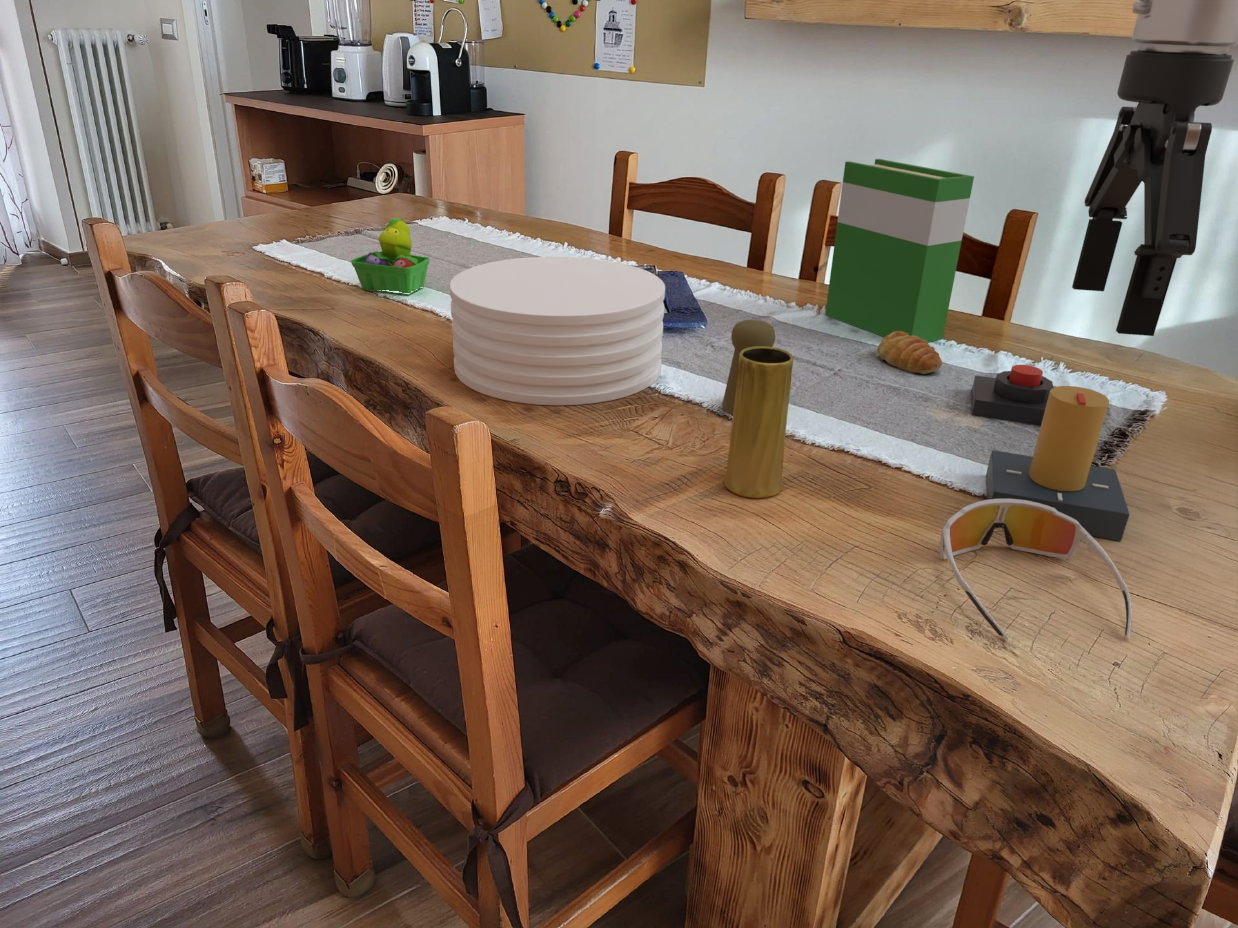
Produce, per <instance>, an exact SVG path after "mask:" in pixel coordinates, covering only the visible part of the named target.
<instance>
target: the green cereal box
mask: <svg viewBox="0 0 1238 928" xmlns="http://www.w3.org/2000/svg"><path fill="white" fill-rule="evenodd" d="M974 179H975V176H974V175H969V174H963V173H958V172H952V171H947V170H942V169H936V168H931V167H926V166H922V165H921V166H920V165H915V164H910V163H904V162H898V161H893V160H889V159H888V160H887V159H883V158H874V164H865V163H860V162H856V161H849V160H847V161H845V162H844V169H843V177H842V183H841V185H842V186H841V191H840V201H839V207H838V214H837V222H836V230H835V238H834V244H833V245H834V246H833V252H832V258H831V259H832V260H831V267H830V273H829V274H830V275H829V281H828V282H829V283H828V289H827V290H828V291H827V297H826V305H825V312H824V315H825V316H827V317H829V318H831V319H834V320H838V321H840V322H842V323H846V324H848V325H850V326H854V327H855V328H859V329H861V330H864V331H866V332H869V333H872V334H875V335H877V336H880V337H883V338H885V337H886V336H887V335H890V334H891V333H892V332H895V331H902V332H905V333H907V334H908V335H909V336H918V337H919V338H920V339H922V340H926V341H927V343H928V344H929V343H931V342H935V341H941V340H943V338H944V334H945V330H946V324H947V320H948V319H947V318H948V313H949V309H950V303H951V297H952V293H953V287H954V283H955V278H956V272H957V267H958V262H959V257H960V251H961V246H962V243H963V237H964V236H963V235H964V230H965V226H966V221H967V215H968V210H969V206H970V205H969V204H970V199H971V195H972V189H973V185H974Z"/></svg>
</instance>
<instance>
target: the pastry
mask: <svg viewBox="0 0 1238 928" xmlns="http://www.w3.org/2000/svg"><path fill="white" fill-rule="evenodd" d="M877 353H878V355H879V357H880V359H881V360H882V361H883V360H884V361H886V363H887V364H888V365H891V366H893V367H896V368H898V369H899V370H903V371H904V372H908V373H913V374H915V373H918V374H921V375H926V374H930V373H935V372H938V371H939V370H940V368H942V367H941V366H942V365H943V360H942V359H941V357H940V353H939V352H938V351H936V350H935V347H934V346H931V345H930V344H929V342H928V343H927V341H926V340H922V339H920V338H919V337H918V336H909V335H908V334H907V333H905V332H902V331H895V332H892V333H891V334H890V335H887V336H886V337H883V339H881V341H880V343H879V344H878V346H877Z"/></svg>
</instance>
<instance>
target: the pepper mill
mask: <svg viewBox="0 0 1238 928" xmlns="http://www.w3.org/2000/svg"><path fill="white" fill-rule="evenodd" d="M730 337H731V338H730V339H731V344H732V346H733V347H734V350H733V355H732V360H731V364H730V368H729V372H728V377H727V380H726V385H725V391H724V396H723V398H722V404H721V408H722V410H723V411H724V412H725V413H727V414H729V415H732V416H733V411H734V403H735V394H736V384H737V375H738V365H739V356H740V352H741V351H742V350H743V349H745V348H749V347H756V346H768V347H774V344H775V342H776V331H775V328H774V326H772V324H771V323H768V322H767V321H764V320H760V319H743V320H740V321H738V322H737V323H735V325H734V326H733V327H732V330H731V336H730Z"/></svg>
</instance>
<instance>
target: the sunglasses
mask: <svg viewBox="0 0 1238 928" xmlns="http://www.w3.org/2000/svg"><path fill="white" fill-rule="evenodd" d="M995 529H1001V531H1002V534H1003V536H1004V538H1005V542H1006V545H1007V546H1008V547H1009V548H1010V549H1011V550H1016V551H1021V552H1026V553H1031V554H1036V555H1042V556H1045V557H1052V558H1057V559H1061V560H1071V559H1072V557H1073V556H1074V554H1075V552H1076V551H1077V549H1078V546H1079V544H1080V542H1082V543H1083V544H1084V545H1085V547H1086V548H1087V549H1088V551H1089V552H1090V553H1093V554H1094V555H1096V556H1097V557H1098V558H1100V559H1101V560H1102V561H1103V562H1104V563H1105V564H1106V565H1107V567H1108V569H1109V570H1110V573H1111V574H1112V575H1113V578H1114V579H1115V582H1116V584H1117V586H1118V588H1119V590H1120V591H1121V594H1122V596H1123V599H1124V604H1125V617H1126V618H1125V620H1126V621H1125V629H1124V639H1125V640H1130V638H1131V633H1132V632H1131V630H1132V623H1133V622H1132V619H1133V618H1132V616H1133V615H1132V611H1133V610H1132V601H1131V596H1130V592H1129V591H1130V590H1129V588H1128V586H1127V584H1126V582H1125V580H1124V578H1123V577H1122V575H1121V572H1120V571H1119V569H1118V568H1117V566H1116V565H1115V564H1114V562H1113V561H1112V559H1111V557H1110V556H1109V555H1108V553H1107V552H1106V550H1105V549H1104V548H1103V547H1102V546H1101V544H1100V543H1099V542H1098V541H1097V540H1096V539H1095V537H1094V536H1091V535H1090V534H1089V533H1088V532H1087V531H1086V530H1085V529H1084V528H1083V527H1082V526H1081V525H1080V524H1079V522H1078V521H1077V520H1075V519H1073V518H1071V517H1069V516H1067V515H1065V514H1063V513H1061V512H1058V511H1057V510H1056V509H1055V508H1053V507H1050V506H1047V505H1044V504H1040V503H1036V502H1032V501H1027V500H1019V499H990V500H987V499H984V500H979V501H976V502H974V503H970V504H968V505H966V506H964V507H962V508H961V509H960V510H958V511H957V512H956V513H954V514H953V515H952V516H951V517H950V518H949V519H948V520H947V521H946V523H945V524H944V526H943V527H942V530H941V533H940V540H939V555H940V558H941V559H942V560H948V563H949V565H950V567H951V570H952V572H953V574H954V576H955V579H956V582H957V583H958V585H959V586H960V588H961V589H962V590H963V592H964V593H965V594H966V595H967V597H968V598H969V600H970V601H971V603H972V604H973V606H975V609H977V610H978V612H979V613H980V614H981V616H982V617H983V618H984V620H985V621H986V622H987V623H988V624H989V626H990V627H991V628H992V629H993V631H995V633H996V634H997V635H998V636H999V637H1000V638H1001V639H1002V640H1005V641H1009V640H1010V637H1009V636H1008V635H1007V633H1006V632H1005V631H1004V630H1003V629H1002V627H1001V626H1000V625H999V624H998V622H997V621H996V620H995V618H993V616H992V615H991V614H990V612H989V611H988V610H987V609H986V607H985V605H983V603H982V602H981V600H980V599H979V597H977V596H976V594H975V593H974V591H973V590H972V589H971V586H969V585H968V583H967V581H966V580H965V579H964V577H963V576H962V574H961V572H960V571H959V568H958V566H957V564H956V560H955V559H954V557H955V556H958V555H962V554H966V553H968V552H971V551H977V550H979V549H980V548H981V547H982V546H987V544H988V543H989V542H990V540H991V538H992V536H993V534H994V531H995Z"/></svg>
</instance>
